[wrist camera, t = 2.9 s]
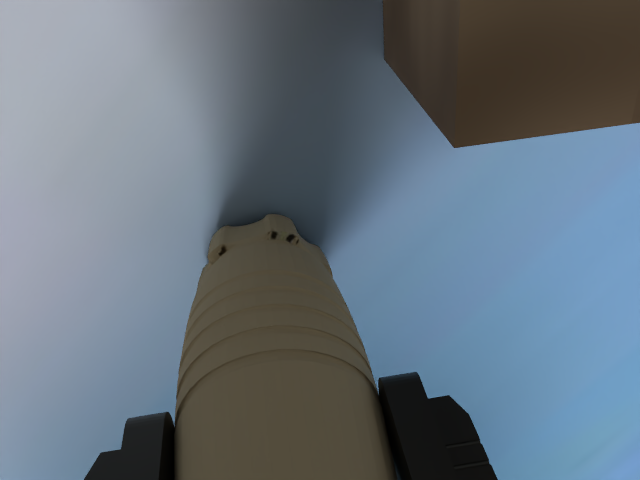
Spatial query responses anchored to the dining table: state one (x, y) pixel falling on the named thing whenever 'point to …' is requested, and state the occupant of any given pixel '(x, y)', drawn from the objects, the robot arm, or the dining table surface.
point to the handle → (275, 368)
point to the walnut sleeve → (517, 64)
